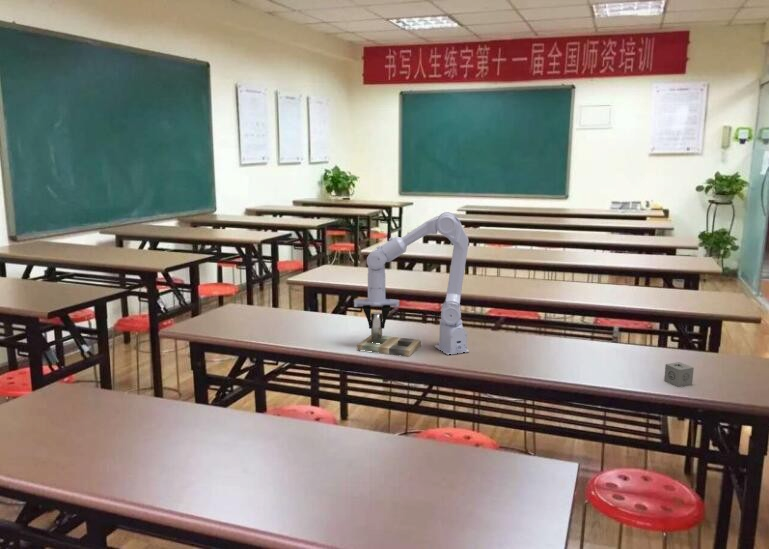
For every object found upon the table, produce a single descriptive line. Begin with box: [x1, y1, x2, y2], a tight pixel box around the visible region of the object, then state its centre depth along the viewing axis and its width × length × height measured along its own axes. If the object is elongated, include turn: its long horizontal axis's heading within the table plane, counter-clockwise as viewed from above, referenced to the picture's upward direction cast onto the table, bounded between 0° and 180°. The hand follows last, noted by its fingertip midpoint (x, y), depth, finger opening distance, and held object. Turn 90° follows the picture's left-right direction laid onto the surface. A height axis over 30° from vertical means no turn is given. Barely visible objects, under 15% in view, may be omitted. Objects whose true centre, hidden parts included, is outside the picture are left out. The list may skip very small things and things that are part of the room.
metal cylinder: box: [370, 311, 383, 339], centre depth 204 cm, size 4×4×8 cm
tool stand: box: [357, 334, 422, 358], centre depth 204 cm, size 18×12×2 cm
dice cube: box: [663, 361, 695, 388], centre depth 173 cm, size 5×5×5 cm
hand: (376, 327), depth 204 cm, fingers closed on metal cylinder, 4 cm apart
